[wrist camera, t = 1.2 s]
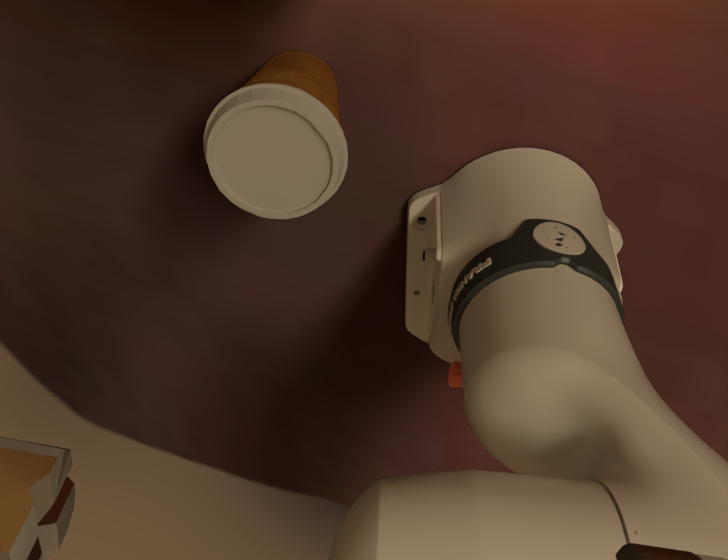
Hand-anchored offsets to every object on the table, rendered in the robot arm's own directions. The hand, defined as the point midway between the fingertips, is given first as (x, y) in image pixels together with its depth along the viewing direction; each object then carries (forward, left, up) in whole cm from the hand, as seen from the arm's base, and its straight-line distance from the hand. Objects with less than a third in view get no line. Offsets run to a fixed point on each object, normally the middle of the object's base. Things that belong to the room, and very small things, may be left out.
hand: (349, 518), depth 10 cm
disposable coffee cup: (-13, +5, -46) cm, 48 cm away
